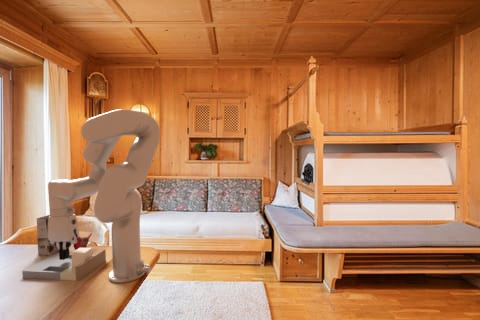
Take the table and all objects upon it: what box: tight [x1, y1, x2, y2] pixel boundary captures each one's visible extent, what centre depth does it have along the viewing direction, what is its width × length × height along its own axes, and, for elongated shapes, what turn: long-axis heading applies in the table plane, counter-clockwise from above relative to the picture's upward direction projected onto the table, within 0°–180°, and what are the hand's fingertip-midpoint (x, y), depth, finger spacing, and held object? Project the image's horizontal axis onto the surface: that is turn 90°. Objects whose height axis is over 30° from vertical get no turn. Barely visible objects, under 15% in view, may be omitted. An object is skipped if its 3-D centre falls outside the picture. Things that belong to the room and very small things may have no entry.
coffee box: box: [36, 214, 59, 256], centre depth 124 cm, size 9×6×16 cm
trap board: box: [22, 249, 107, 281], centre depth 106 cm, size 22×16×5 cm
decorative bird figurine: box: [72, 232, 93, 251], centre depth 121 cm, size 3×18×10 cm, turn 5°
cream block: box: [70, 247, 93, 266], centre depth 106 cm, size 5×5×5 cm
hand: (64, 258), depth 106 cm, fingers closed
